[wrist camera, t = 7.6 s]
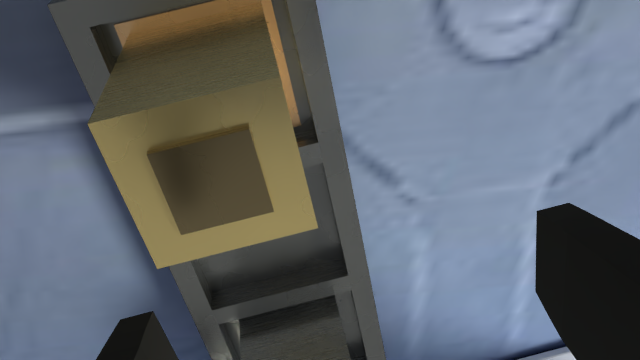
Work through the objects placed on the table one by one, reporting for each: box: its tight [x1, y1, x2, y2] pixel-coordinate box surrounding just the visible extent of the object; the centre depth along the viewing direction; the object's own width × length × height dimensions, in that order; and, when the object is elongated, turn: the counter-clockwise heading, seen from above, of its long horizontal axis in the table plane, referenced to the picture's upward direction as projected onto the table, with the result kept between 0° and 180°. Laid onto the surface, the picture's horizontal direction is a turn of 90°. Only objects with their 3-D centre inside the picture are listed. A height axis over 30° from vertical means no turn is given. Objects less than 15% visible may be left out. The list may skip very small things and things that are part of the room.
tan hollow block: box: [88, 3, 318, 269], centre depth 15 cm, size 4×4×6 cm
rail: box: [47, 0, 386, 360], centre depth 20 cm, size 19×7×1 cm, turn 11°
